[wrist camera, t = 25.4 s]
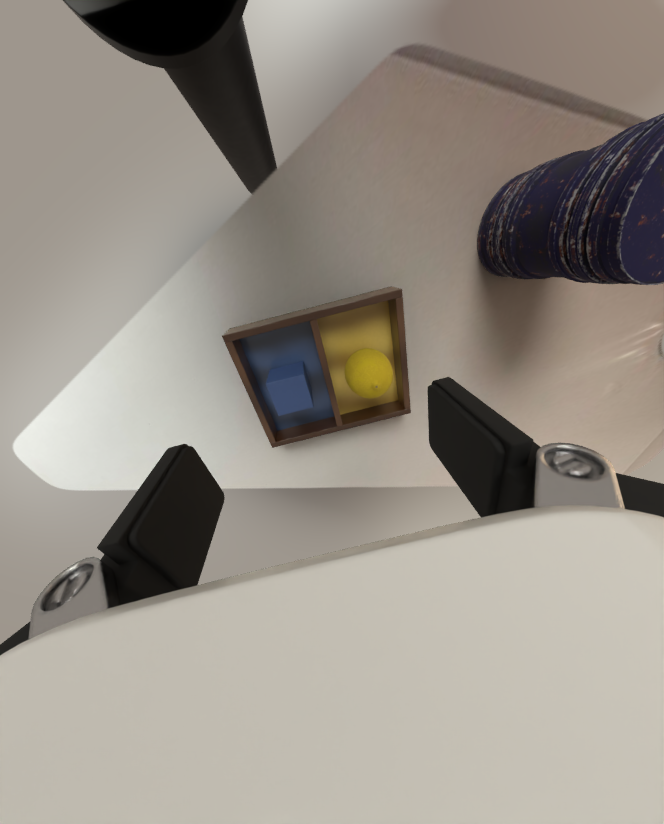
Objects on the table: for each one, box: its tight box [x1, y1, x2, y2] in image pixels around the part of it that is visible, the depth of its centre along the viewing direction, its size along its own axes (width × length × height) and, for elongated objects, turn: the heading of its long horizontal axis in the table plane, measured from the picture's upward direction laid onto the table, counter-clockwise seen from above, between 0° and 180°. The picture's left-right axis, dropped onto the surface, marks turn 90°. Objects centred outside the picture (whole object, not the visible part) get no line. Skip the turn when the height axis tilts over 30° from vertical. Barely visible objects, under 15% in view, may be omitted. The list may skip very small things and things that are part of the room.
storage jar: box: [477, 114, 664, 285], centre depth 22 cm, size 10×10×15 cm
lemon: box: [345, 348, 393, 399], centre depth 30 cm, size 6×6×8 cm
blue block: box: [266, 361, 314, 416], centre depth 32 cm, size 4×4×4 cm
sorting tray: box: [222, 287, 411, 448], centre depth 33 cm, size 16×20×4 cm
